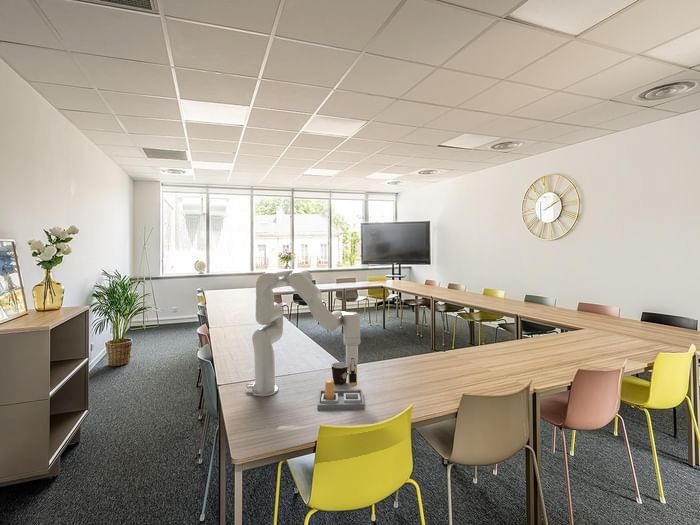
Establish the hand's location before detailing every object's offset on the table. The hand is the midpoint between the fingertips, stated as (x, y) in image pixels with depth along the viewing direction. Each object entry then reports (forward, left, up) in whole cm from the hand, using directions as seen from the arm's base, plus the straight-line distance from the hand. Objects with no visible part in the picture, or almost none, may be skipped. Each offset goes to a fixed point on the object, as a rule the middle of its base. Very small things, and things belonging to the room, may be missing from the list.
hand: (352, 379), depth 152 cm
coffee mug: (-4, +22, -11) cm, 25 cm away
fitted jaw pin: (-10, 0, -10) cm, 14 cm away
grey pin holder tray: (-5, 0, -11) cm, 12 cm away
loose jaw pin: (0, 0, -2) cm, 2 cm away
